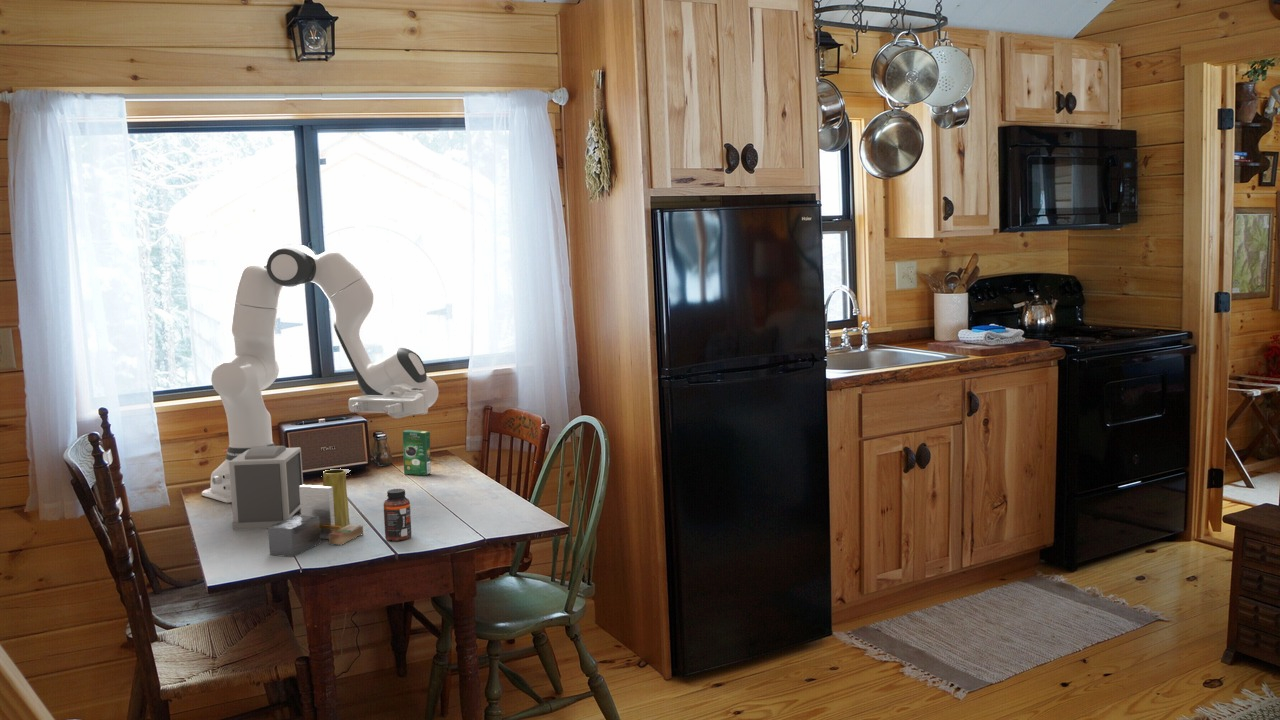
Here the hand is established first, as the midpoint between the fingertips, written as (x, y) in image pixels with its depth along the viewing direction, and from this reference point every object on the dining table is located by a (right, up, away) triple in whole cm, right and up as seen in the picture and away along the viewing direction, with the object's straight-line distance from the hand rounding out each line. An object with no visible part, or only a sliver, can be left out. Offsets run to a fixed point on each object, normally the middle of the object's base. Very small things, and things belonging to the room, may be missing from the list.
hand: (370, 409), depth 256 cm
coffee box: (+3, -21, +42) cm, 47 cm away
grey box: (-24, -27, -4) cm, 37 cm away
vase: (-4, -28, -15) cm, 32 cm away
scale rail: (+1, -29, -24) cm, 37 cm away
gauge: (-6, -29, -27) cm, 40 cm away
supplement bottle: (+13, -29, -23) cm, 39 cm away
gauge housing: (-9, -30, -30) cm, 43 cm away
